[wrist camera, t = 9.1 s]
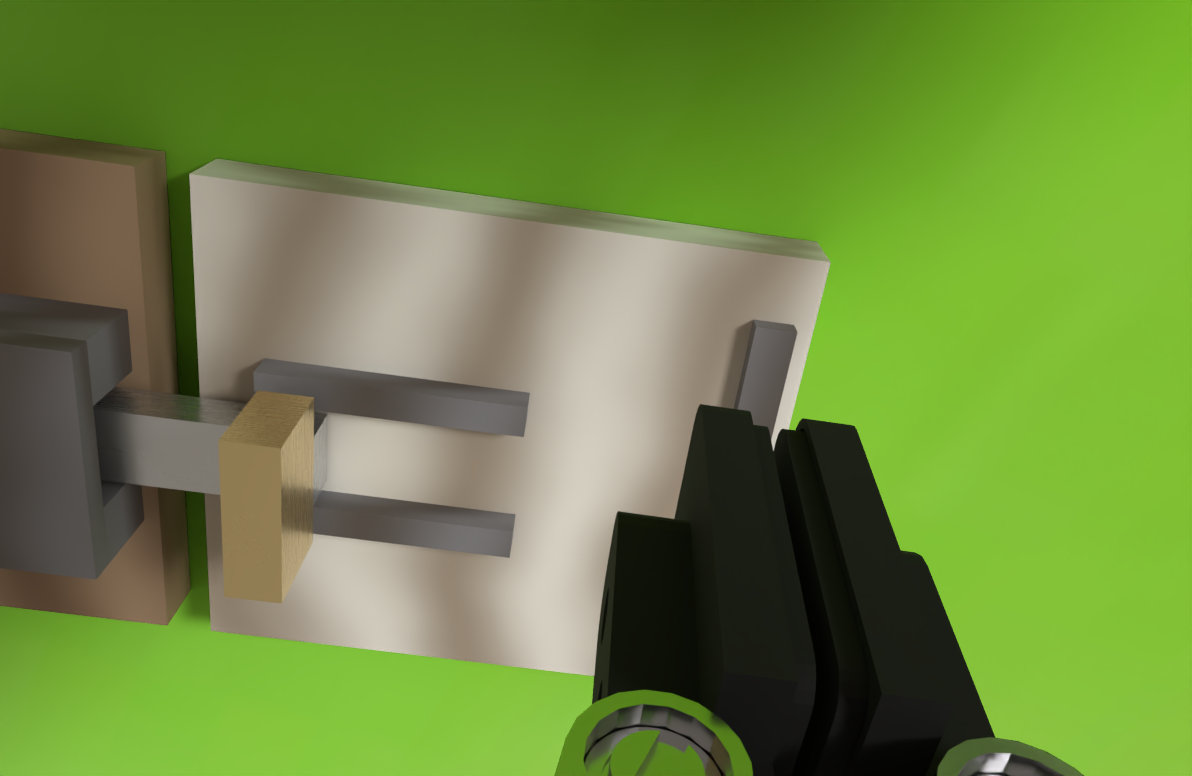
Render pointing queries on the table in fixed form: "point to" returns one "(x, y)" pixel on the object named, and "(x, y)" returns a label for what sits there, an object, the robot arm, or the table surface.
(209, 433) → the bolt
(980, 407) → the table surface
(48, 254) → the door and frame
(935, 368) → the table surface
